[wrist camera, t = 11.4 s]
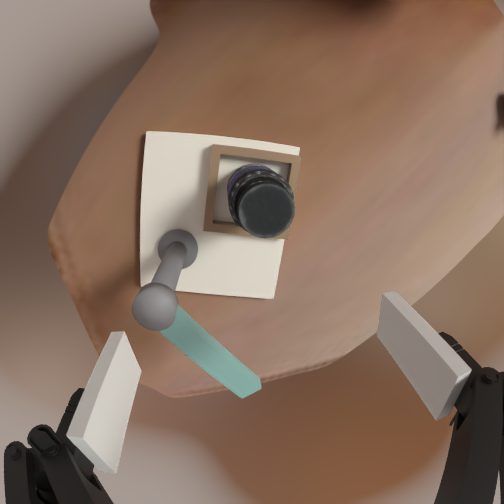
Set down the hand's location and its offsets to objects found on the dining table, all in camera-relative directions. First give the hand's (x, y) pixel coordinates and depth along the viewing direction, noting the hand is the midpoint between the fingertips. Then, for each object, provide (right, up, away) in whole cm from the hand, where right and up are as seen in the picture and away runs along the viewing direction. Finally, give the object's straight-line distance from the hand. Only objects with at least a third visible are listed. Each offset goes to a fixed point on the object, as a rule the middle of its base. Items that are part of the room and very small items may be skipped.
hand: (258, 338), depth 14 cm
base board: (-5, +8, +22) cm, 24 cm away
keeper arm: (-5, -4, +12) cm, 13 cm away
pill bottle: (0, +12, +20) cm, 23 cm away
